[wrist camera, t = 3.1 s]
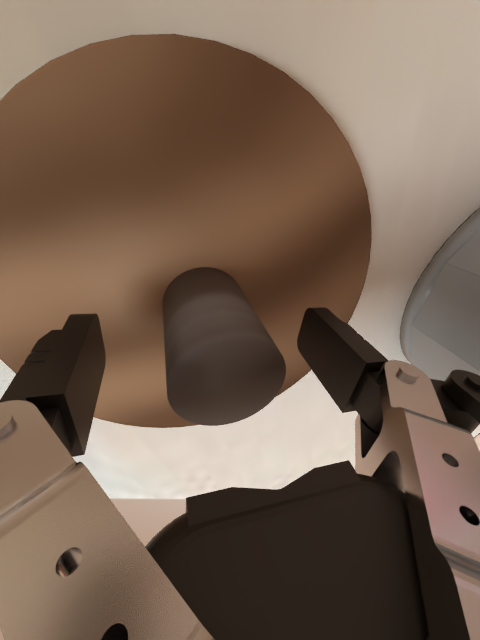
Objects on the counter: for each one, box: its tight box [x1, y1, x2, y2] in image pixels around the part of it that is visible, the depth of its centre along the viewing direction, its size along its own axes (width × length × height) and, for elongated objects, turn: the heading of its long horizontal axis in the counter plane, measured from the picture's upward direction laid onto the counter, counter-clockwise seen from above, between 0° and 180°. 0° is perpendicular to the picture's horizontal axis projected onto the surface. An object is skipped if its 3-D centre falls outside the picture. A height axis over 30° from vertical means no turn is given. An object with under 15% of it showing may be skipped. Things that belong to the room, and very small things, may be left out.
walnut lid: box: [0, 34, 371, 428], centre depth 10 cm, size 17×17×6 cm
